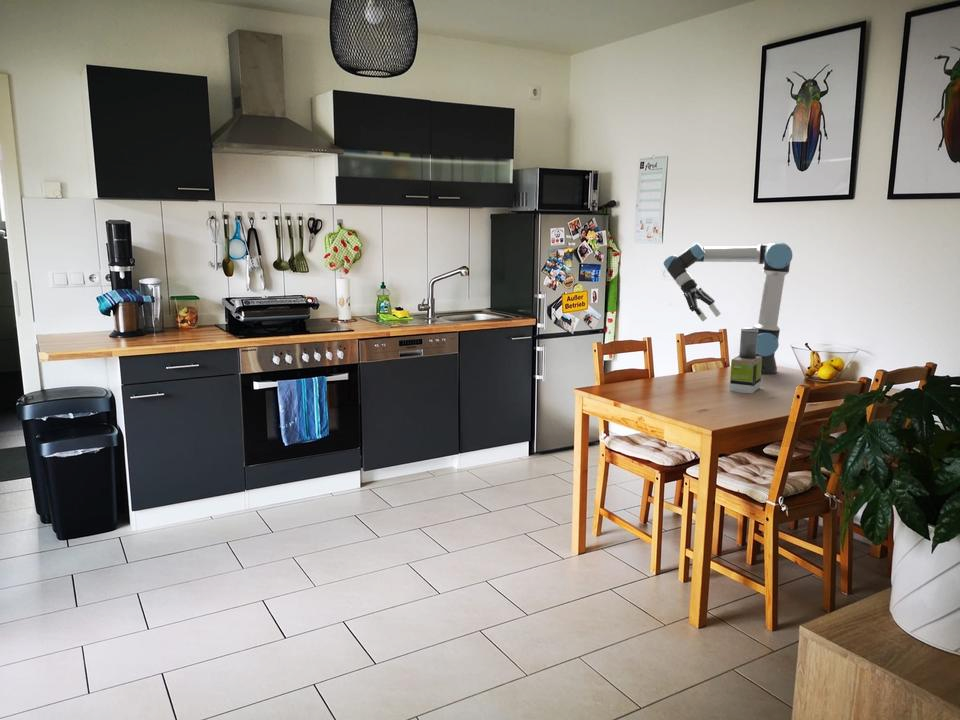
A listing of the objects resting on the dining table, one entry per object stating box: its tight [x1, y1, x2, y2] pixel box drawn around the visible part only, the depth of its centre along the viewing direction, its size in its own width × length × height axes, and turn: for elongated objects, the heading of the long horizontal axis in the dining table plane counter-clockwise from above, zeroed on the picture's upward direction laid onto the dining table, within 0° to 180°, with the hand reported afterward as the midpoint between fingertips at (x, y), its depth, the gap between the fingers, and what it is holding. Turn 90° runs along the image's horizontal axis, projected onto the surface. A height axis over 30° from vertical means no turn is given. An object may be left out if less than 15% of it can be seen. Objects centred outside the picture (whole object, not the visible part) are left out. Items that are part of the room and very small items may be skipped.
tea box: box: [729, 355, 762, 395], centre depth 321 cm, size 15×10×15 cm
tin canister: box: [738, 326, 758, 359], centre depth 318 cm, size 7×7×13 cm
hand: (711, 317), depth 348 cm, fingers open, 13 cm apart
